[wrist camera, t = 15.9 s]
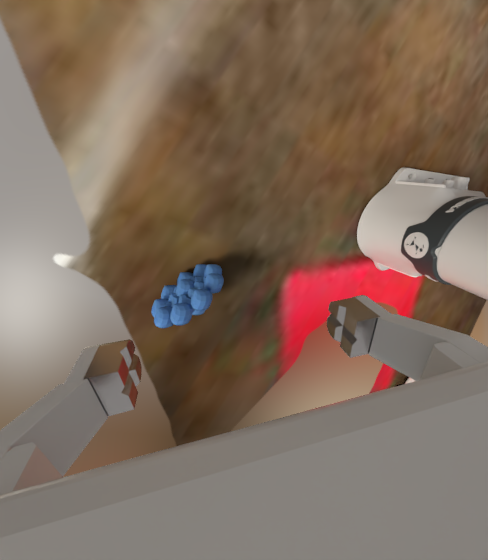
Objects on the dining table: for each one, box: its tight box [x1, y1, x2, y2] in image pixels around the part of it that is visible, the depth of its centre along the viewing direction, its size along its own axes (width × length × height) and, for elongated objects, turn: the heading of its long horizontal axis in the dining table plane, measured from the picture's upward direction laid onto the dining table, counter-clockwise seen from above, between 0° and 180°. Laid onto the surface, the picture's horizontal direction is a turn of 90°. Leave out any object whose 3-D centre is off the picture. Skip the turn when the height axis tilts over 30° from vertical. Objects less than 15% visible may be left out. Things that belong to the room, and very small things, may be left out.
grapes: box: [152, 264, 224, 328], centre depth 34 cm, size 12×7×12 cm, turn 116°
